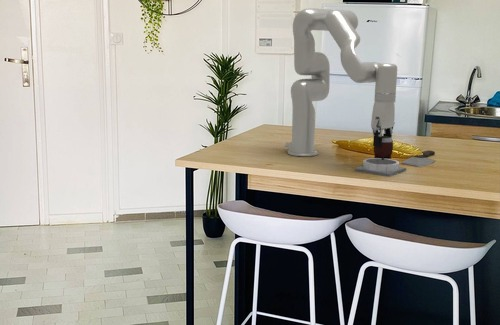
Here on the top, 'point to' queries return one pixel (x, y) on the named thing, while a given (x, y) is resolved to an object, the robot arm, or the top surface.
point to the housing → (380, 167)
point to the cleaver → (420, 159)
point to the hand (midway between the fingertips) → (382, 145)
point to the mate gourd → (384, 148)
